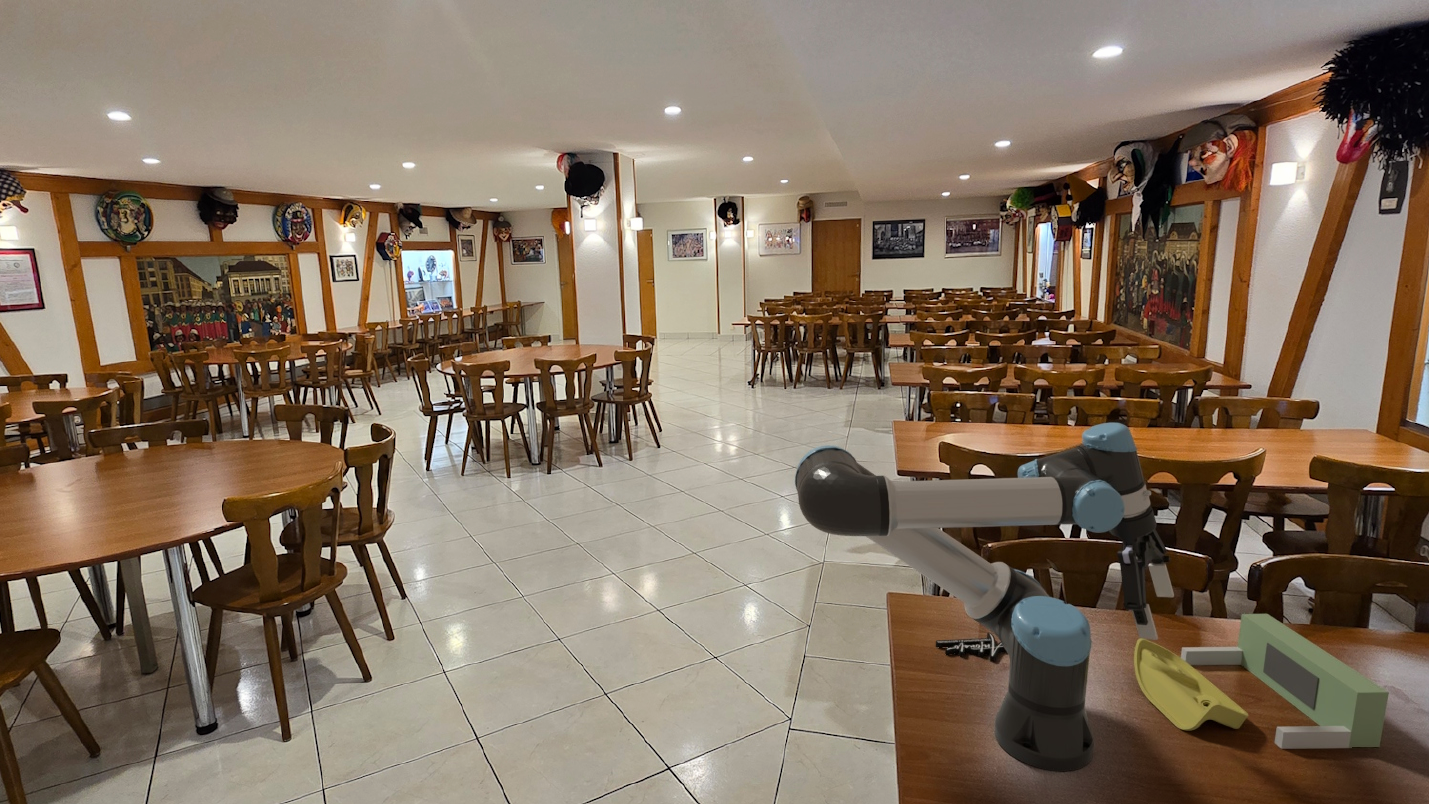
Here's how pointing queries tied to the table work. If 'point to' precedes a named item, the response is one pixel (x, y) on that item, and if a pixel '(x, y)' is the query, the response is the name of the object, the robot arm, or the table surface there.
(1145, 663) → the plastic component
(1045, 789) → the table surface
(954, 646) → the nameplate
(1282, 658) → the green sign stand
